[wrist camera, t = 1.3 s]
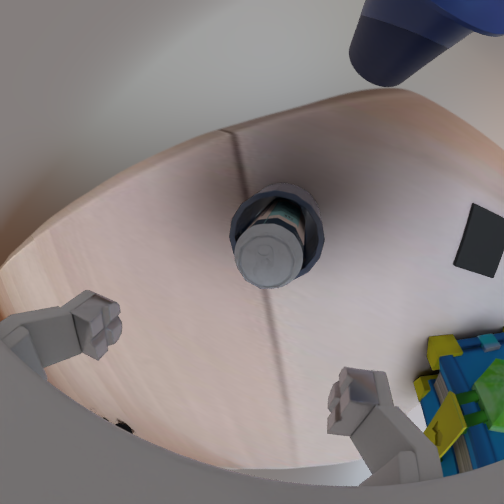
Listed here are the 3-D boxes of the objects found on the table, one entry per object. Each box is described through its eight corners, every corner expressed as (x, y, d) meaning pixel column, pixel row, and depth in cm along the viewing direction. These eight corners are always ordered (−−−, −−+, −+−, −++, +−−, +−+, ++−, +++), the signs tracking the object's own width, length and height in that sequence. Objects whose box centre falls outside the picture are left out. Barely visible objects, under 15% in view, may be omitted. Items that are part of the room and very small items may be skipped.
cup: (254, 176, 28) (237, 182, 22) (328, 192, 27) (333, 203, 21) (242, 245, 31) (224, 269, 25) (310, 261, 30) (310, 290, 24)
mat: (472, 202, 23) (474, 203, 23) (509, 221, 22) (512, 222, 22) (452, 264, 26) (454, 266, 26) (491, 276, 25) (493, 278, 25)
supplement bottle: (264, 243, 30) (237, 296, 19) (258, 201, 29) (224, 231, 18) (308, 239, 29) (305, 292, 18) (303, 196, 28) (298, 223, 16)
